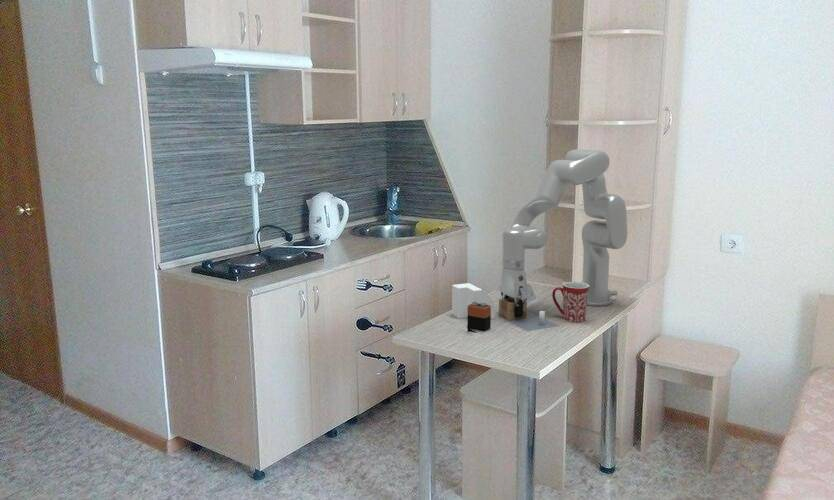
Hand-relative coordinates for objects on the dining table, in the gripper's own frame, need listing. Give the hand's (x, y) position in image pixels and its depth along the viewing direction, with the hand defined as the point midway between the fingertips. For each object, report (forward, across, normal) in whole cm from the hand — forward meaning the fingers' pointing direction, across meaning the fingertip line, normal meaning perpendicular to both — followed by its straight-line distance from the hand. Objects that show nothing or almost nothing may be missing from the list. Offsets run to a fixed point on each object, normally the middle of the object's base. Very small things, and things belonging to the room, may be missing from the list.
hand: (512, 313), depth 238 cm
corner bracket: (+3, +7, +12) cm, 14 cm away
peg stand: (+2, -6, -2) cm, 7 cm away
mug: (+3, -10, -17) cm, 20 cm away
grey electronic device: (+3, +11, -12) cm, 16 cm away
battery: (+3, -6, +17) cm, 18 cm away
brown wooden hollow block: (+1, 0, 0) cm, 1 cm away
